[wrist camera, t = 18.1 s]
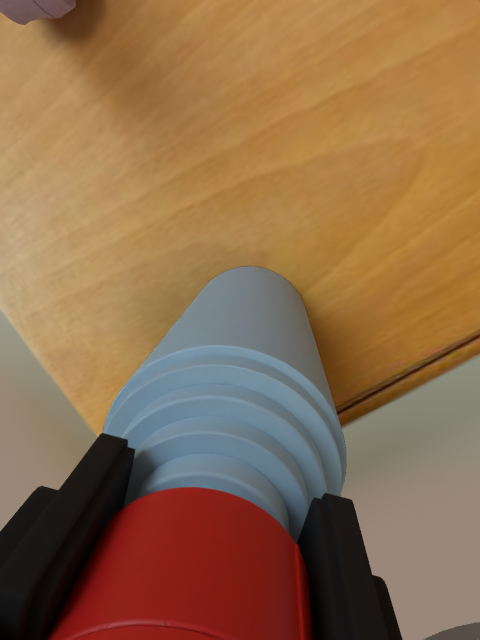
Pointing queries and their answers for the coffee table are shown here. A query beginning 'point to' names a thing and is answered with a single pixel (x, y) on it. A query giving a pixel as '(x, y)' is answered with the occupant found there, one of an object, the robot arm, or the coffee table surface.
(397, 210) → the coffee table surface
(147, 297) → the coffee table surface
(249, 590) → the cap
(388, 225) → the coffee table surface
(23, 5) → the headphones
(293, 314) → the bottle
